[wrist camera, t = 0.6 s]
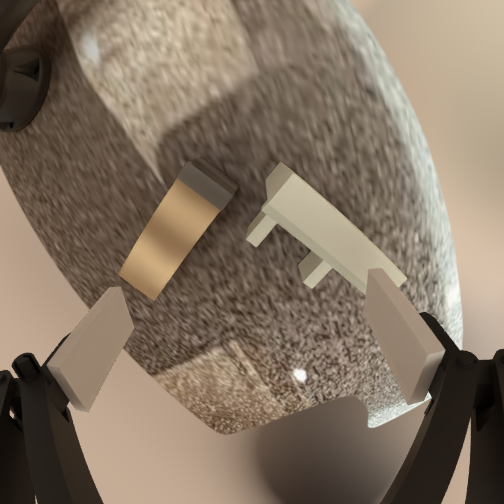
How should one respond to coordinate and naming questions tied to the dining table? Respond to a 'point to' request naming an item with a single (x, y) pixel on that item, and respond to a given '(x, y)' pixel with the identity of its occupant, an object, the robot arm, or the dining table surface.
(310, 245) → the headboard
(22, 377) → the robot arm
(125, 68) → the dining table surface
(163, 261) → the tan and grey block
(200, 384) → the dining table surface
